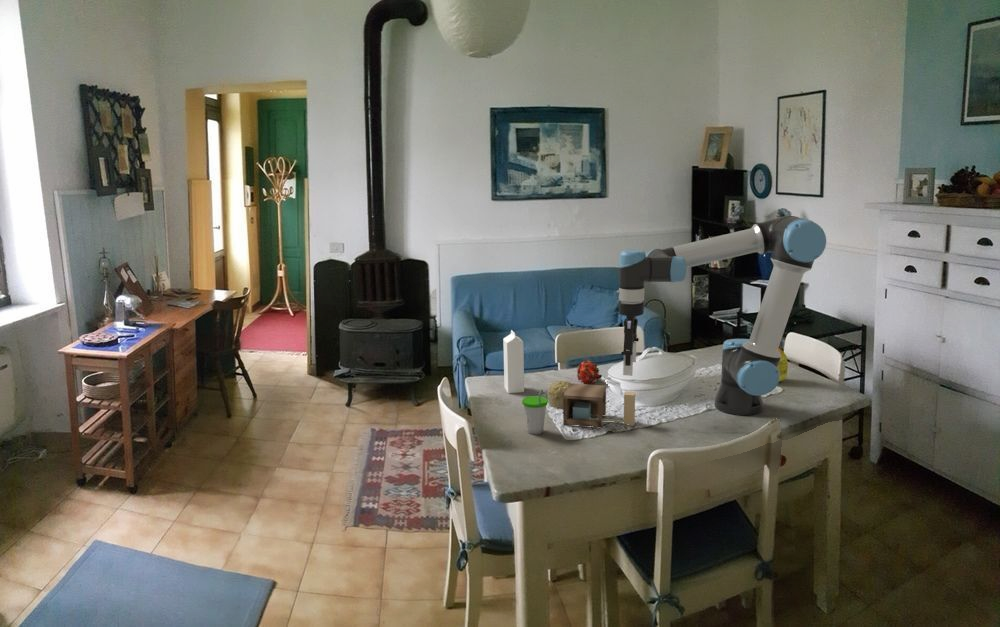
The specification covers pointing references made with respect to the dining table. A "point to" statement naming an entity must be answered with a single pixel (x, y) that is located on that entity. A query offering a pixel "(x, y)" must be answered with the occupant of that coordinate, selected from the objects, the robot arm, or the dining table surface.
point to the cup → (535, 413)
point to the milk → (513, 364)
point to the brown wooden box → (584, 394)
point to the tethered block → (584, 412)
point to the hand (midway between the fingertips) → (629, 368)
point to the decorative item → (557, 393)
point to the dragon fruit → (588, 372)
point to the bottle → (782, 365)
